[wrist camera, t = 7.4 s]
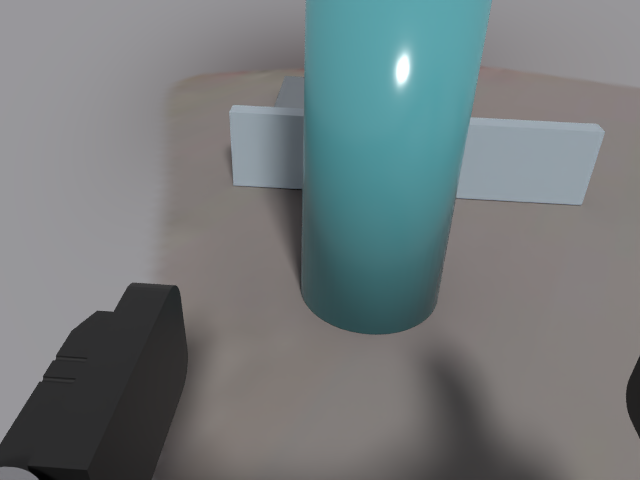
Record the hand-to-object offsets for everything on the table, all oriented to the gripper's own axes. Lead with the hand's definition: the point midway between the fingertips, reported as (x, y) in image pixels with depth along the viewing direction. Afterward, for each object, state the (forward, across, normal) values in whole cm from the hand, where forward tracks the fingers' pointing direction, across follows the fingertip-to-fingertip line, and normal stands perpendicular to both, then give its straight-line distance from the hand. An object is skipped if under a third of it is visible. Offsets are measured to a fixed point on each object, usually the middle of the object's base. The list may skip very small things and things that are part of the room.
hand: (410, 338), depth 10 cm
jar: (+11, 0, -8) cm, 13 cm away
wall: (+20, +2, -7) cm, 21 cm away
